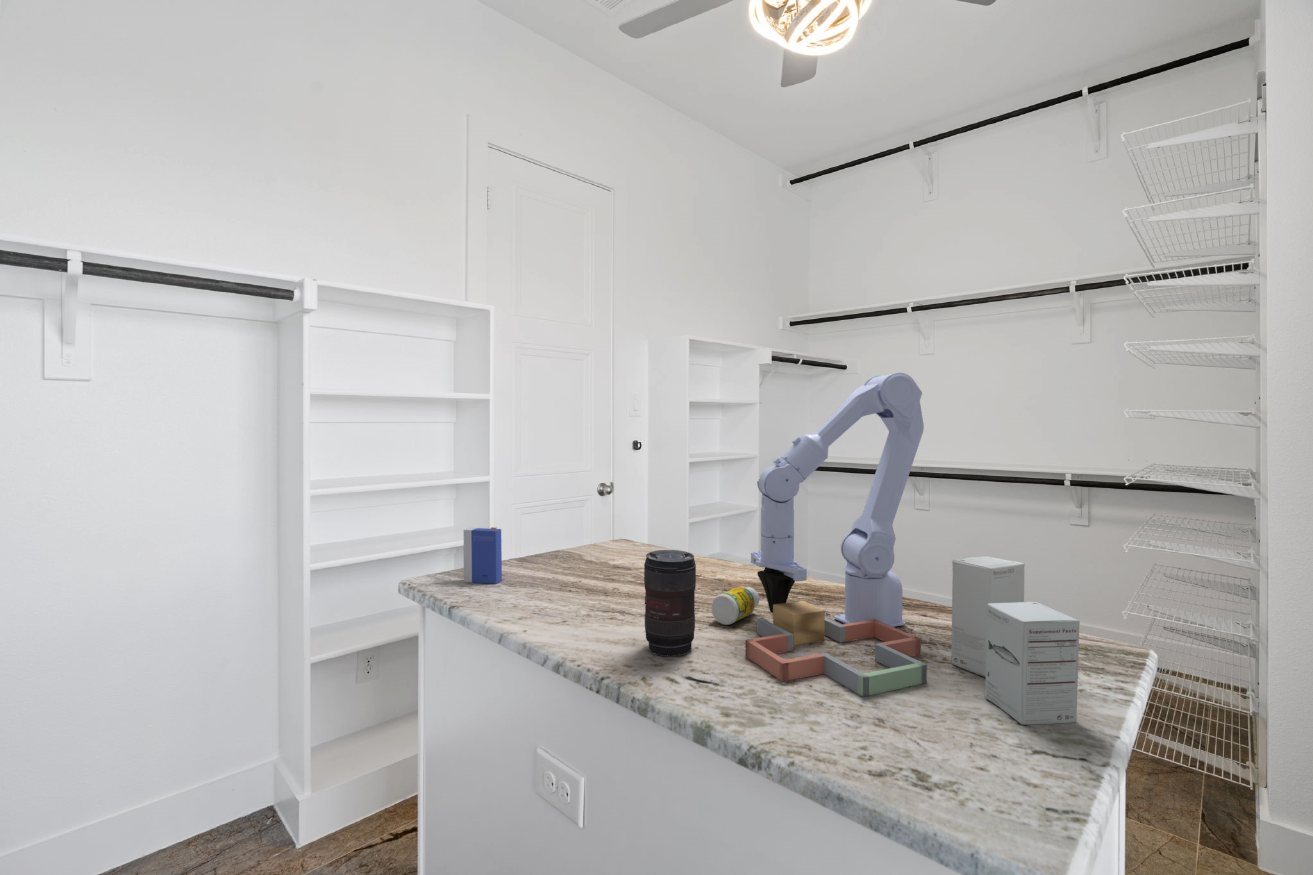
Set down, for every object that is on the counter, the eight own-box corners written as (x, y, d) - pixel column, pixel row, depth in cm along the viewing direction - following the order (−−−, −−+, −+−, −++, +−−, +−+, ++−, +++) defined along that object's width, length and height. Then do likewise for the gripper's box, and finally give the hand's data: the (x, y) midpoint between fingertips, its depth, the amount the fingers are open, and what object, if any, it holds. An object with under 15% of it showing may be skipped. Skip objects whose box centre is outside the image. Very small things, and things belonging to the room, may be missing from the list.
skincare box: (988, 680, 87) (990, 568, 86) (947, 663, 93) (948, 559, 92) (1025, 668, 91) (1027, 562, 90) (983, 653, 97) (985, 553, 96)
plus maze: (843, 619, 113) (843, 605, 113) (964, 674, 89) (964, 657, 89) (720, 638, 103) (720, 623, 103) (818, 706, 79) (818, 686, 79)
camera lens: (648, 660, 94) (647, 561, 94) (641, 641, 102) (641, 550, 102) (700, 657, 95) (700, 559, 95) (690, 638, 103) (690, 548, 103)
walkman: (501, 580, 140) (501, 527, 139) (496, 584, 137) (495, 529, 137) (469, 578, 141) (469, 526, 141) (463, 582, 139) (462, 528, 138)
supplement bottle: (716, 628, 111) (743, 615, 118) (740, 621, 108) (766, 608, 115) (706, 598, 112) (733, 587, 119) (730, 591, 109) (756, 580, 116)
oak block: (802, 629, 108) (802, 600, 108) (824, 640, 103) (824, 610, 102) (772, 633, 106) (773, 604, 106) (793, 645, 100) (793, 614, 100)
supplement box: (983, 698, 81) (984, 602, 81) (1036, 696, 82) (1038, 600, 82) (1020, 726, 74) (1022, 620, 74) (1079, 723, 75) (1081, 618, 74)
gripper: (736, 529, 115) (736, 603, 115) (781, 544, 101) (780, 627, 102) (769, 527, 118) (769, 599, 118) (817, 541, 104) (816, 622, 105)
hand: (776, 612), depth 110 cm, fingers closed
